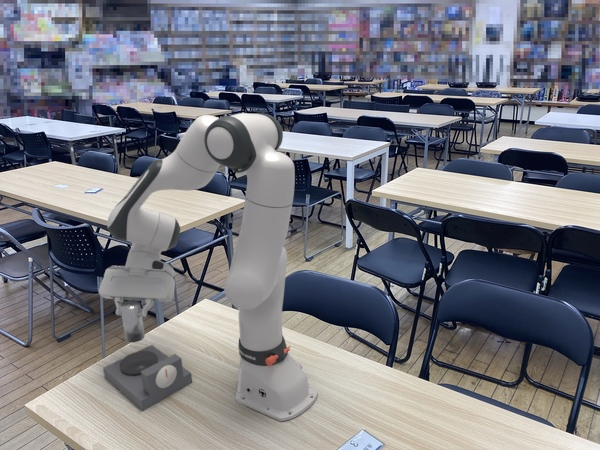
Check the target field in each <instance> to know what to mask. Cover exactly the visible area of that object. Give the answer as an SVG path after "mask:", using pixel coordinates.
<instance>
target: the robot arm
mask: <svg viewBox="0 0 600 450" xmlns="http://www.w3.org/2000/svg"><path fill="white" fill-rule="evenodd" d="M283 134H284V132H283V128H282V126H281V123H280V122H279V120H277V119H276V118H275V117H274V116H272V115H271V114H267V113H264V112H256V113H247V112H242V113H237V114H232V115H226V116H222V117H217V116H215V115H210V114H204V115H200V116H198V117H197V118H196V119H195V120H194V121H193V122H192V123H191V124H190V126H189V127H188V128H187V130H186V131H185V132H184V134H183V136H182V137H181V139H180V141H179V143H178V144H177V146H176V148H175V149H174V150H173V152H172V153H170V154H169V155H168V156H166V157H164V158H161V159H156V160H154V161H152V163H150V165H148V167H147V168H146V169H145V170H144V171H143V173H142V174H141V175H140V176H139V178H138V179H137V180H136V182H135V183H134V184H133V185H132V187H131V188H130V190H128V192H127V193H126V194H125V196H124V197H123V198H122V199H121V200H120V201H119V202H118V203H117V204H116V205H115V206H114V208H113V209H112V210H111V211H110V214H109V216H108V218H107V221H106V222H107V224H106V229H107V230H108V232H109V234H110V235H111V237H113V239H114V240H117V241H122V242H129V243H131V248H130V249H129V252H128V253H127V257H126V262H125V265H111V266H109V267H107V268H106V269H105V272H104V274H103V278H102V280H101V282H100V286H99V288H98V294H99V296H100V297H101V298H103V299H106V300H107V299H109V300H112V299H113V300H114V304H115V308H116V310H115V315H117V316H121V317H122V314H121V308H120V306H121V304H122V303H124V301H125V300H126V301H130V300H137V301H141V302H143V301H144V303H145V305H144V307H142V308H141V309H140V310H139V316H140V317H142V318H146V317H147V315H148V312H149V310H151V308H152V307H153V305H154V302H160V303H170V302H171V301H172V300H173V299H174V294H175V289H176V288H175V287H176V284H175V283H176V282H175V279H174V277H175V276H176V275H175V274H176V271H175V270H174V268H172V267H171V265H169V264H168V263H167V262H164V261H162V259H161V258H162V257H161V254H162V252H166V251H169V250H171V249H173V248H174V247H176V246H177V245H178V241H179V238H180V233H181V226H180V223H179V222H178V220H177V218H174V217H173V216H171V215H167V214H165V213H164V212H161V211H158V210H155V209H154V210H153V209H148V208H144V207H143V205H144V204H145V202H146V201H147V200H148V198H149V197H150V196H151V195H152V194H154V193H155V192H159V191H168V190H172V191H185V192H186V191H195V190H199V189H202V188H205V187H206V186H207V185H208V184H209V183H210V182H211V181H212V179H213V178H214V177H215V175H216V173H217V172H218V169H219V168H220V166H224V167H227V168H229V169H230V170H231V171H232V172H234V173H236V174H241V173H245V175H246V178H247V180H246V181H247V183H246V188H245V189H246V191H245V199H244V205H243V211H242V212H243V213H242V217H241V218H242V220H241V226H240V232H239V234H238V236H237V242H236V244H235V247H234V251H233V255H232V260H231V262H230V267H229V271H228V274H227V277H226V280H225V283H224V287H223V288H224V294H225V297H226V299H227V300H228V301H229V303H230V304H232V305H233V306H234V307H236V308H237V309H239V310H238V326H239V330H238V331H239V338H238V347H237V348H238V353H239V356H240V358H239V359H240V360H239V365H238V373H237V374H238V376H237V383H236V394H235V398H234V399H235V402H237V403H239V404H241V405H243V406H246V407H247V408H250V409H252V410H255V411H257V412H259V413H260V414H263V415H266V416H268V417H270V418H272V419H275V420H277V421H279V422H284V421H285V422H286V421H289V420H293V419H294V418H297V417H298V416H300V415H301V414H303V413H304V412H306V411H307V410H308V409H309V408H310V407H312V405H313V404H314V403H315V402H316V400H317V399H318V391H317V389H316V388H315V387H314V386H312V385H311V384H310V383H309V381H308V377H307V374H306V372H305V371H304V370H303V365H302V362H300V361H298V362H297V361H296V360H295V359H294V357H293V356H292V355H291V353H290V351H291V345H289V346H287V343H286V340H285V337H284V335H283V304H284V296H285V288H286V287H285V285H286V270H287V262H288V252H287V249H286V247H284V245H285V241H286V239H287V235H288V231H289V226H290V219H291V215H292V208H293V202H294V196H295V185H296V184H295V183H296V181H295V180H296V176H295V172H296V171H295V164H294V162H293V159H292V158H290V157H289V156H288V155H287V154H285V153H283V152H280V151H278V150H279V149H280V147H281V145H282V143H283V138H284V135H283Z"/></svg>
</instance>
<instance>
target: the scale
mask: <svg viewBox="0 0 600 450" xmlns="http://www.w3.org/2000/svg"><path fill="white" fill-rule="evenodd" d="M102 370H103V374H104V378H105V379H106V380H107V381H108V382H109V383H111V384H112V385H113V386H114V388H116V389H117V390H118V391H120V393H122V394H123V396H125V397H126V398H127V399H129V400H130V401H131V402H132V403H133V404H134V405H135V406H136V407H137V408H139V409H140V410H141V412H144V411H145V410H147V409H149V408H150V407H152V406H154V405H155V404H157V403H159V402H161V401H162V400H164V399H166V398H168V397H169V396H171V395H173V394H174V393H176V392H178V391H179V390H181V389H183V388H185V387H186V386H188V385H190V384H191V383H193V376H192V372H191V371H189V370H188V369H187V368H185V367H184V366H183V362H182V357H180V356H179V355H177V354H176V353H174V354H172V355H170V356H168V355H167V354H166V353H164V352H163V351H161V350H160V349H158V348H157V347H155V346H154V345H153V344H151V345H148V346H146V347H144V348H142V349H140V350H138V351H135V352H132V353H130V354H128V355H126V356H125V357H123V358H122V359H121V358H120V359H119V360H117V361H115V362H112V363H111V364H109V365H107V366H105V367H103V369H102Z"/></svg>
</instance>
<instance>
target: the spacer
mask: <svg viewBox="0 0 600 450" xmlns="http://www.w3.org/2000/svg"><path fill="white" fill-rule="evenodd" d="M120 308H121V314H122V316H121V318H122V325H123V333H124V339H125V341H126V342H127V343H137V342H140V341H142V340H143V339H145V337H146V336H145V328H144V321H143V317H140V316H139V310H140V309H142V306H141V302H140V300H126V301H123V303H121V306H120Z"/></svg>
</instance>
